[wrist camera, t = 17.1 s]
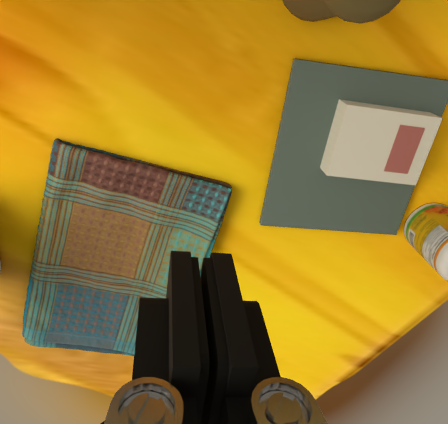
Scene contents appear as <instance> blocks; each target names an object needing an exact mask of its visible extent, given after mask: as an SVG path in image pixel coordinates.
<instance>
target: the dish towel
mask: <svg viewBox="0 0 448 424" xmlns="http://www.w3.org/2000/svg"><path fill="white" fill-rule="evenodd" d="M231 188H232V187H231V185H229V184H227V183H225V182H222V181H218V180H214V179H210V178H206V177H203V176H198V175H194V174H190V173H187V172H182V171H178V170H174V169H169V168H167V167H163V166H159V165H156V164H152V163H148V162H145V161H141V160H137V159H133V158H129V157H125V156H121V155H117V154H113V153H109V152H106V151H103V150H98V149H94V148H89V147H85V146H81V145H75V144H72V143H69V142H65V141H62V140H60V139H58V138H57V139H55V141H54V143H53V149H52V152H51V159H50V163H49V170H48V175H47V181H46V187H45V191H44V198H43V205H42V209H41V217H40V222H39V225H38V233H37V240H36V248H35V251H34V257H33V263H32V269H31V275H30V279H29V285H28V288H27V300H26V303H25V310H24V316H23V333H22V335H23V337H25V342H27V343H28V344H30V345H32V346H38V347H53V348H67V349H79V350H86V351H94V352H101V353H115V354H124V355H131V356H134V354H135V343H136V332H137V321H138V310H139V300H140V297H143V298H166V293H167V283H168V272H169V262H170V253H171V251H188V252H191V257H198V261H199V269H200V276H201V269H202V262H203V258H209V257H210V254H211V251H212V248H213V245H214V243H215V240H216V238H217V235H218V232H219V229H220V227H221V224H222V221H223V217H224V214H225V211H226V208H227V205H228V202H229V198H230V196H231V192H232V189H231Z"/></svg>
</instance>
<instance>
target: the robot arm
mask: <svg viewBox="0 0 448 424" xmlns="http://www.w3.org/2000/svg"><path fill="white" fill-rule="evenodd" d="M101 424H328V423H327V421H326V419H325V417H324V415H323V414H322V412H321V410H320V408H319V406H318V404H317V402H316V400H315V399H314V397H313V396H312V395H311V393H310V392H309V391H308V390H307V389H306V388H305V387H303V386H302V385H301V384H299V383H297V382H295V381H293V380H291V379H287V378H283V377H280V373H279V370H278V367H277V363H276V360H275V356H274V353H273V349H272V346H271V343H270V339H269V336H268V332H267V329H266V325H265V322H264V318H263V315H262V312H261V308H260V305H259V303H258V302H257V301H243V300H242V296H241V292H240V287H239V283H238V279H237V275H236V271H235V267H234V263H233V258H232V255H231V254H226V253H211V255H210V258H203V262H202V269H201V276H200V269H199V261H198V257H191V252H188V251H171V253H170V262H169V272H168V283H167V293H166V298H143V297H140V300H139V310H138V321H137V332H136V343H135V354H134V364H133V375H132V381H130V382H128V383H126V384H125V385H123V386H122V387H121V388H120V389H119V390H118V391H117V392H116V393H115V395H114V397H113V399H112V401H111V403H110V407H109V410H108V413H107V416H106V420H105V421H104V422H102V423H101Z"/></svg>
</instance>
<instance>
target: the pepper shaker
mask: <svg viewBox="0 0 448 424" xmlns="http://www.w3.org/2000/svg"><path fill="white" fill-rule="evenodd" d="M283 2H284V5H285V6H286V7H287V9H288V10H289V11H290V12H291V13H292V14H293V15H295V16H296V17H298V18H300V19H301V20H307V21H318V20H323V19H327V18H331V17H335V16H338V17H339V18H341V19H343V20H344V21H349V22H355V23H365V22H370V21H374V20H376V19H378V18H380V17H382V16H384V15H385V14H387V13H389V12H390V11H391V10H392V9H393V8H394V7H395V6H396V5H397V4H398V3H399V2H400V0H283Z"/></svg>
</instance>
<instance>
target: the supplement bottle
mask: <svg viewBox="0 0 448 424" xmlns="http://www.w3.org/2000/svg"><path fill="white" fill-rule="evenodd" d="M404 234H405V237H406V239H407V241H408V242H409V243H410V244H411V245H412V246H413V247H414V248H415V249H416V251H417V252H418V253H419V254H420V255H421V256H422V257H423V258H424V259H425V260H426V261H427V262H428V263H429V264H430V265H431V266H432V267H433V268H434V269H435V270H436V271H437V272H438V273H439V274H440V275H441V276H442V277H443V278H444V279H446V280H447V281H448V207H447V206H445V205H443V204H440V203H429V204H426V205H423V206H421V207H419V208H417V209H416V210H415V211H414V212H413V213H412V214H411V215H410V216H409V217H408V219H407V221H406V223H405V227H404Z"/></svg>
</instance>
